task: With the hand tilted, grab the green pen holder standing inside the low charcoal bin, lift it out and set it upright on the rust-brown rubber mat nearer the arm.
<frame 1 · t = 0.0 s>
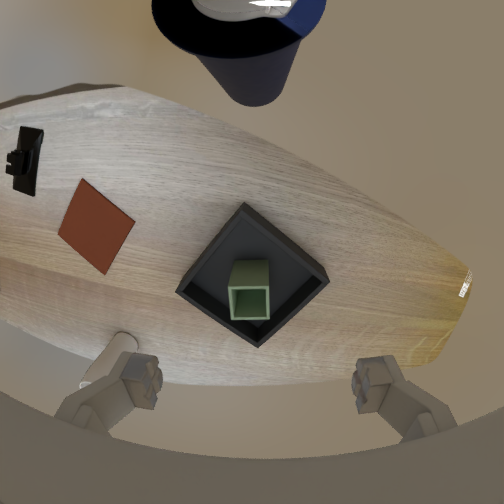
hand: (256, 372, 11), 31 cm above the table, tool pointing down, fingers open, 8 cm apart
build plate: (27, 160, 37), on the table
drinking glass: (127, 340, 51), on the table
green pen holder: (251, 275, 43), point 1 cm above the table, touching bin
mat: (92, 227, 42), on the table
bin: (252, 273, 43), on the table
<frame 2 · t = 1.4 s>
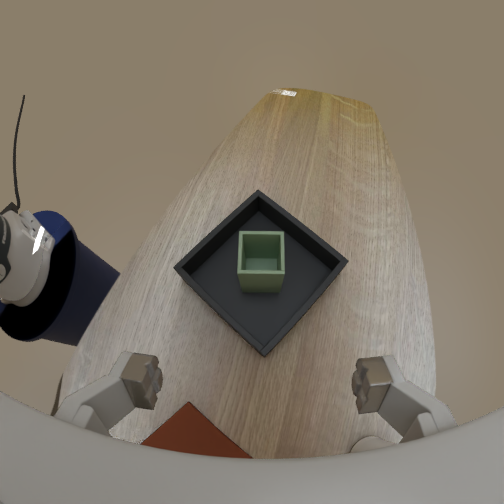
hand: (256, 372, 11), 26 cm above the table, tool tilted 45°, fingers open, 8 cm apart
drinking glass: (366, 451, 29), on the table
green pen holder: (261, 274, 38), point 1 cm above the table, touching bin
mat: (191, 458, 29), on the table
bin: (261, 276, 39), on the table
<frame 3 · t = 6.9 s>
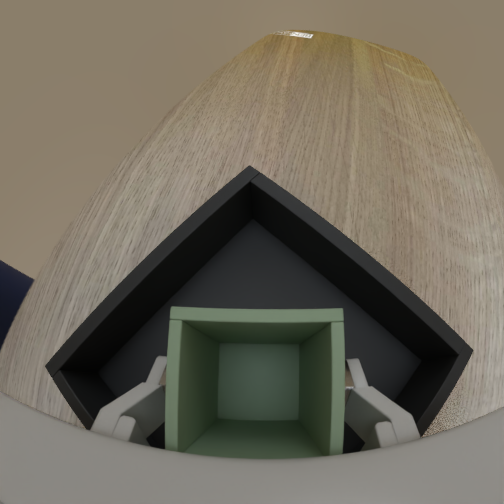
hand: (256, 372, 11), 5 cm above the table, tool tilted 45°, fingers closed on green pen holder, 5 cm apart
green pen holder: (258, 382, 14), point 1 cm above the table, touching bin, gripper
bin: (258, 381, 15), on the table
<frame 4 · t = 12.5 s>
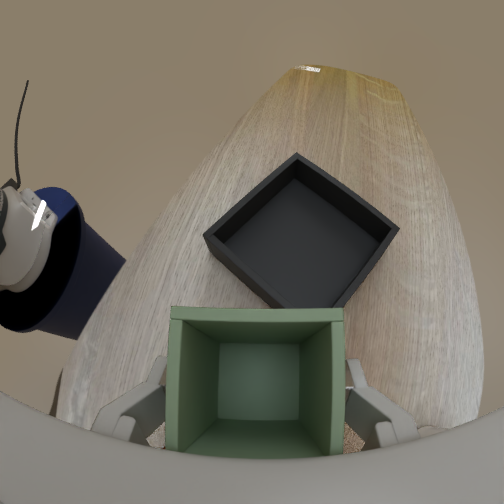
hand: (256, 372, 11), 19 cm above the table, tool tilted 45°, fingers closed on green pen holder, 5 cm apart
green pen holder: (258, 381, 14), point 15 cm above the table, touching gripper
bin: (302, 247, 34), on the table
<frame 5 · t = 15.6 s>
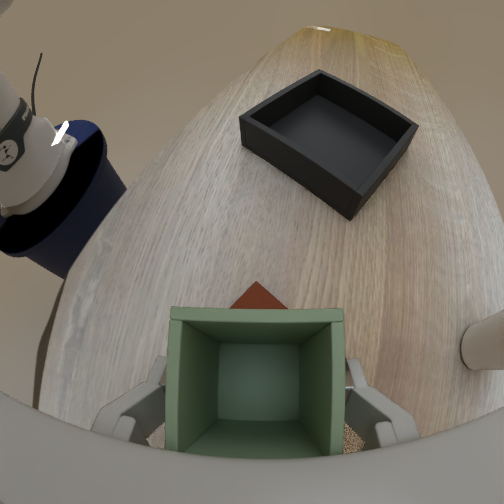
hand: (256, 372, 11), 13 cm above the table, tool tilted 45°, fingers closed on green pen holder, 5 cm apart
drinking glass: (474, 347, 22), on the table
green pen holder: (258, 382, 14), point 9 cm above the table, touching gripper
mat: (259, 375, 23), on the table
bin: (331, 143, 32), on the table
when the fingers open (5 cm above the table, at t = 18.4 s): green pen holder stays where it is, resting on mat.
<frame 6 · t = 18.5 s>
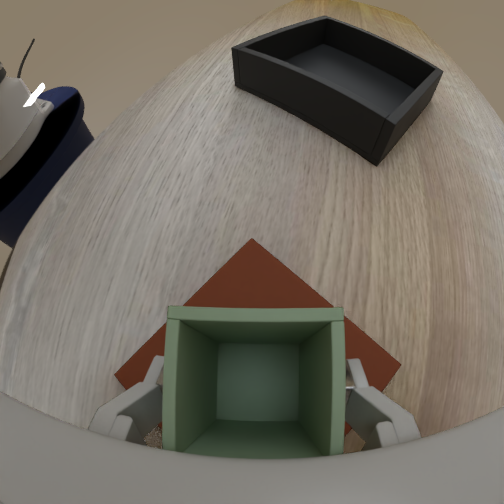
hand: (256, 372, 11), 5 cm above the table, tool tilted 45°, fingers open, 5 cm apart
green pen holder: (258, 382, 14), resting on mat
mat: (256, 381, 15), on the table
bin: (343, 87, 24), on the table
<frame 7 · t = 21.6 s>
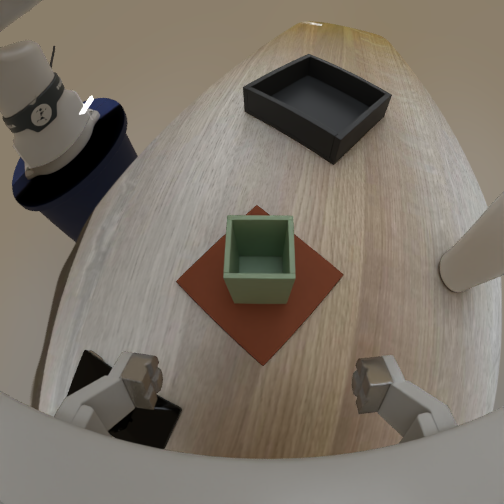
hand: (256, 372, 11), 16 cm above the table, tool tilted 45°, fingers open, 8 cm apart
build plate: (118, 406, 24), on the table
drinking glass: (453, 273, 28), on the table
green pen holder: (260, 278, 28), resting on mat
mat: (259, 279, 28), on the table
bin: (318, 110, 38), on the table
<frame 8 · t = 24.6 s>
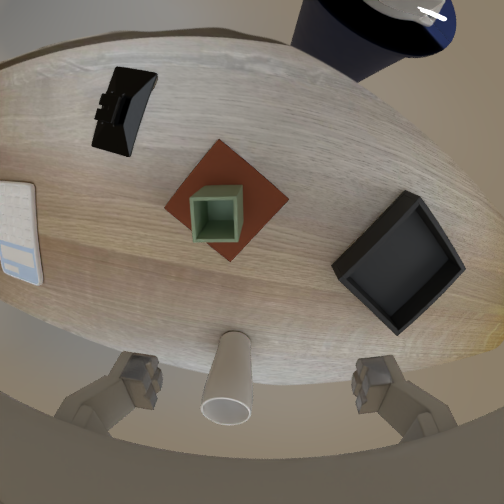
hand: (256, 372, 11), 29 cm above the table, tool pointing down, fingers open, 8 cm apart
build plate: (122, 110, 33), on the table
drinking glass: (235, 341, 46), on the table
green pen holder: (224, 203, 37), resting on mat
calculator: (18, 231, 41), on the table
mat: (224, 202, 38), on the table
bin: (398, 261, 40), on the table
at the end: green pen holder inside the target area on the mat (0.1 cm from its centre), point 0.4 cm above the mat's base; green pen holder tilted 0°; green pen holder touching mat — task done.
